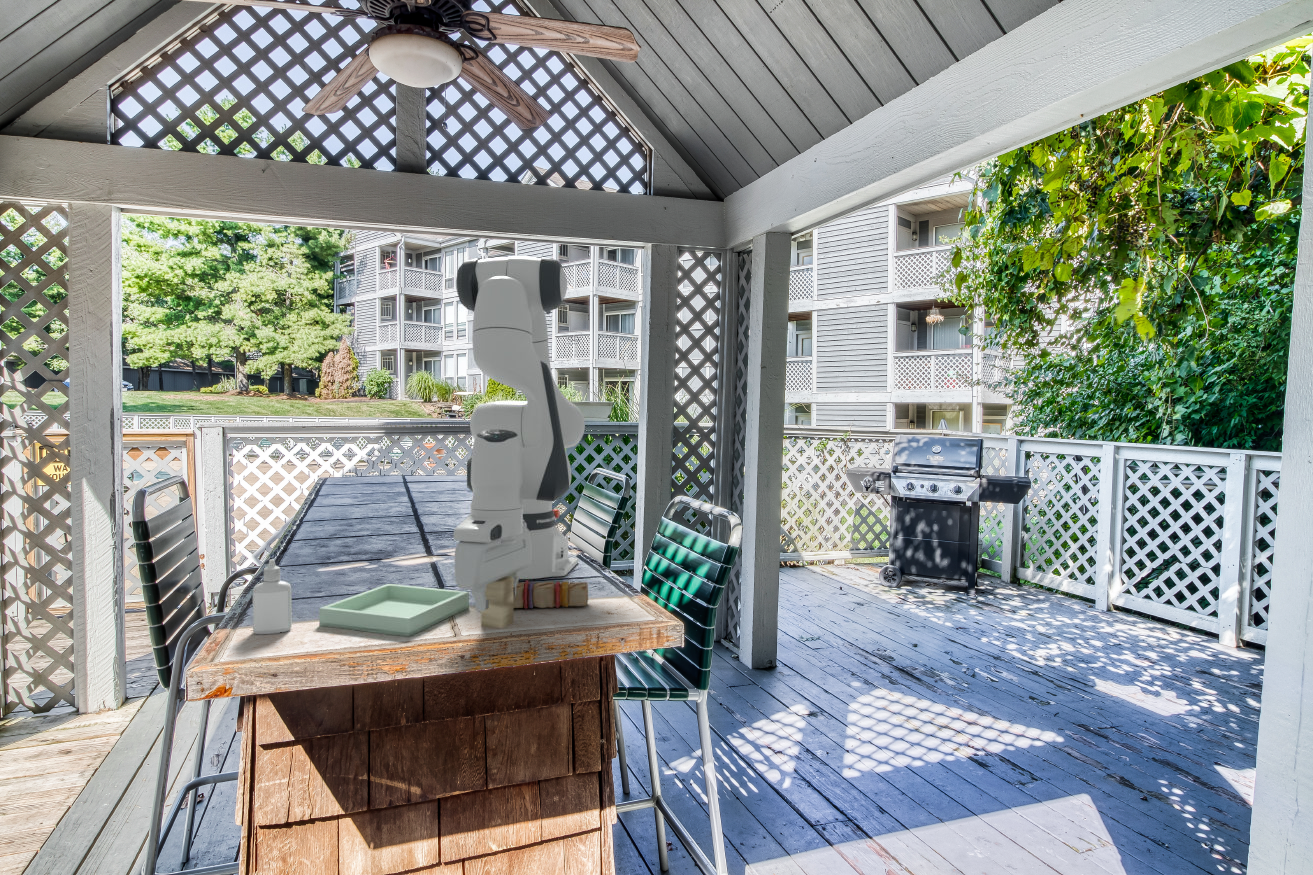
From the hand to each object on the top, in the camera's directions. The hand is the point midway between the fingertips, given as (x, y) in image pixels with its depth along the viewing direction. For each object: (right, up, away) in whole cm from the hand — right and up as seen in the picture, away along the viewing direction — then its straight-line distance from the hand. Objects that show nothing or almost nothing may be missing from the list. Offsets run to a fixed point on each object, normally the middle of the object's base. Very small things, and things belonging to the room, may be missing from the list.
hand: (496, 603), depth 125 cm
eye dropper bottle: (-36, -4, -5) cm, 37 cm away
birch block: (0, -4, 0) cm, 4 cm away
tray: (-19, -3, +4) cm, 19 cm away
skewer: (+4, -4, +12) cm, 13 cm away
